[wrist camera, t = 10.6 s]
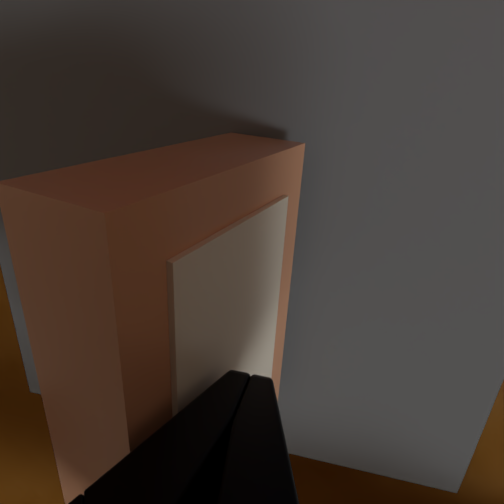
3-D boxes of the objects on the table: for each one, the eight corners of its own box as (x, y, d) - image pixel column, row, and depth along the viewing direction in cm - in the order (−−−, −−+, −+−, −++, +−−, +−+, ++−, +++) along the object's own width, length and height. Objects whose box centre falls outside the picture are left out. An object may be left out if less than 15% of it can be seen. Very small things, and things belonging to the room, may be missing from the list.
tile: (281, 404, 13) (150, 606, 8) (223, 378, 14) (74, 545, 9) (309, 143, 9) (112, 214, 4) (231, 132, 10) (-6, 182, 5)
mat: (454, 482, 14) (457, 493, 13) (36, 384, 17) (30, 391, 16) (675, -75, 7) (691, -82, 7) (-64, -72, 10) (-79, -77, 10)
